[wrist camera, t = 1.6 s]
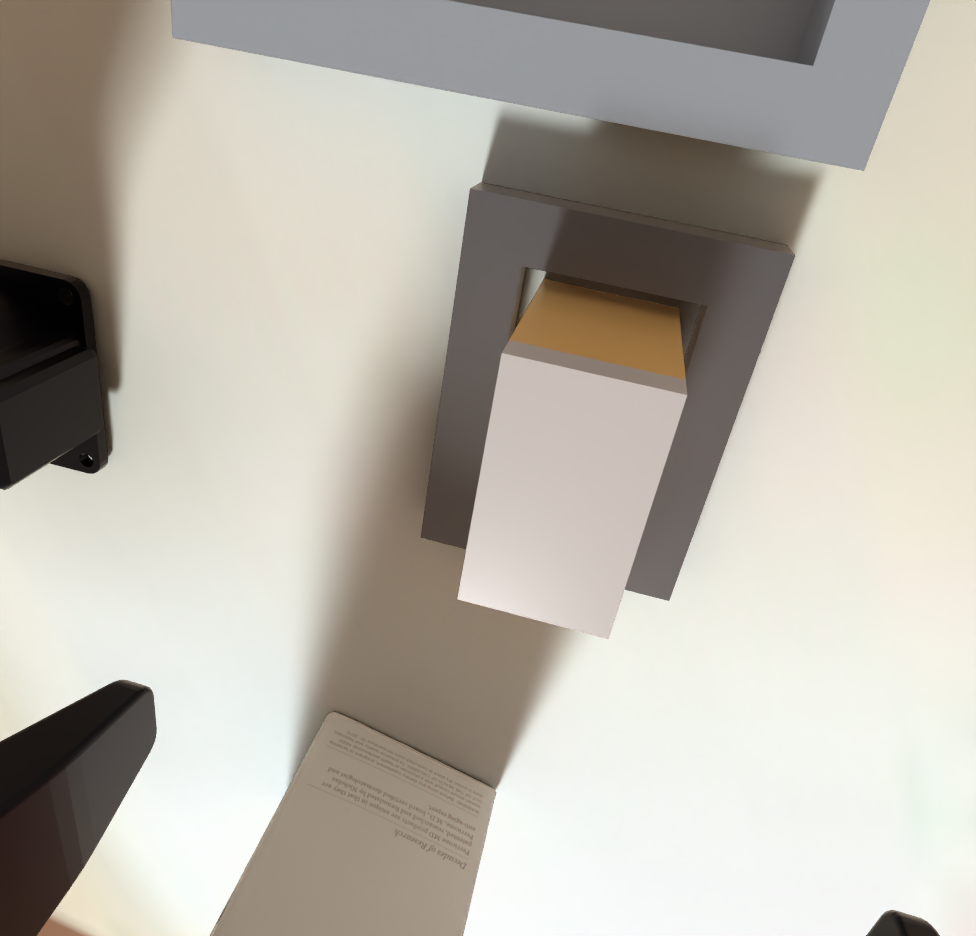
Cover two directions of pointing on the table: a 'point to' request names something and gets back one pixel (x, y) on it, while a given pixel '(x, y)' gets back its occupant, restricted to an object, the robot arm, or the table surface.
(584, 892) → the table surface
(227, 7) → the tray
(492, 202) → the holder
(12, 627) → the table surface
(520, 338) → the white and orange block
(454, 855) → the supplement box
